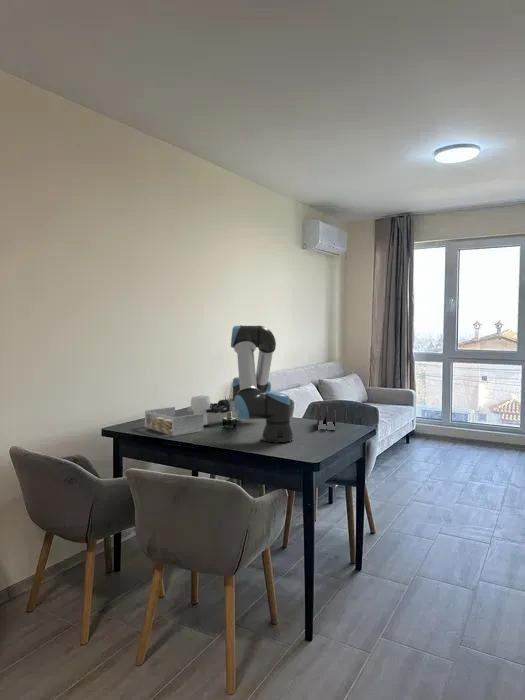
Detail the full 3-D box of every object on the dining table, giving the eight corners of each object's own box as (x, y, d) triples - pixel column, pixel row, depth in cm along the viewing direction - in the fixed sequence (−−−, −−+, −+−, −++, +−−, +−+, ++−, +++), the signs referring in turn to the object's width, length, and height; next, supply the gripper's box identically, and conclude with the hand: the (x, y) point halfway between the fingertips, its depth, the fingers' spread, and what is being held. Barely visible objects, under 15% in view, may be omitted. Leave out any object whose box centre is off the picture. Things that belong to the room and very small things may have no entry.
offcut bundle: (176, 432, 254) (176, 421, 253) (170, 433, 251) (170, 422, 251) (157, 427, 267) (157, 416, 266) (152, 428, 264) (152, 416, 264)
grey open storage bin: (203, 433, 259) (203, 413, 259) (173, 438, 247) (173, 418, 246) (173, 424, 279) (173, 406, 279) (144, 429, 267) (144, 410, 266)
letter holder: (316, 430, 270) (317, 404, 269) (318, 423, 289) (318, 398, 288) (335, 431, 268) (336, 405, 267) (335, 423, 288) (336, 399, 287)
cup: (206, 426, 269) (207, 398, 268) (188, 425, 271) (188, 397, 270) (212, 422, 279) (212, 395, 278) (194, 421, 281) (194, 395, 281)
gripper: (239, 415, 279) (207, 420, 264) (213, 409, 296) (182, 414, 280) (239, 401, 278) (207, 406, 263) (213, 397, 295) (182, 400, 280)
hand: (194, 410), depth 272 cm, fingers closed on cup, 10 cm apart
